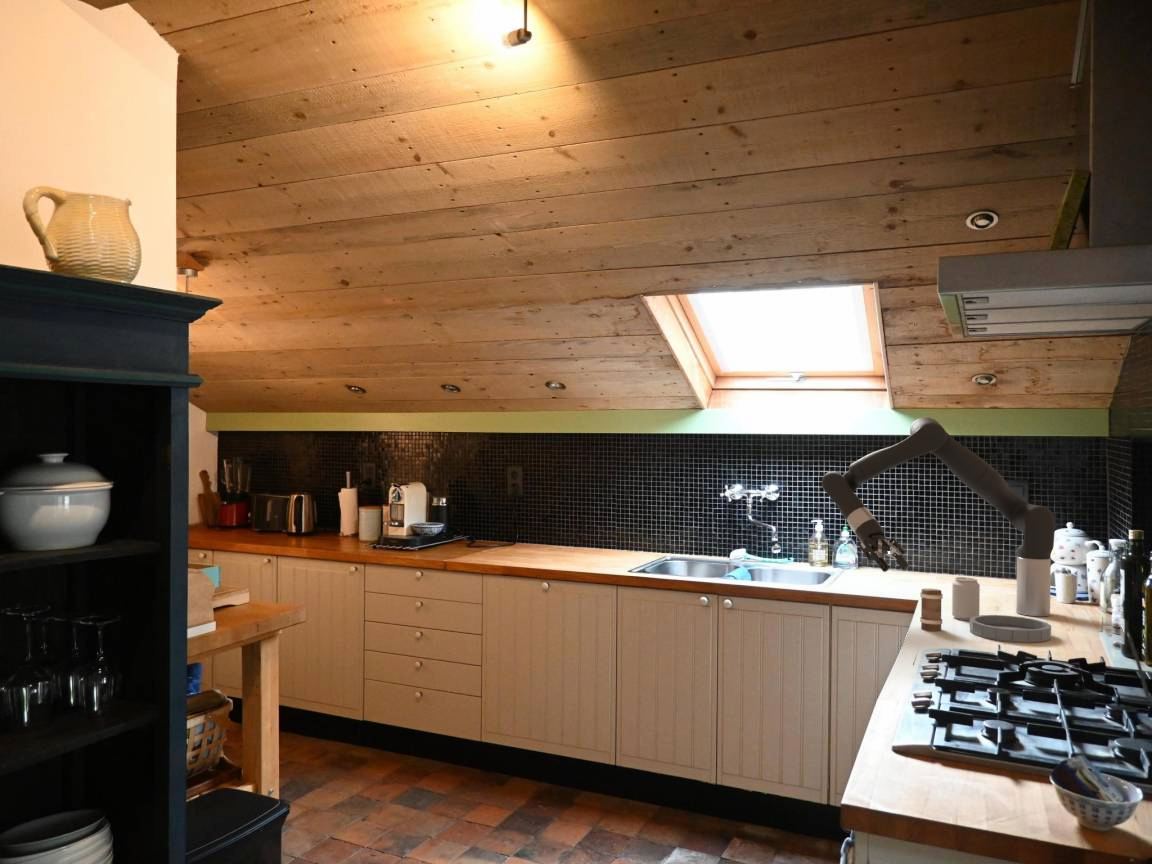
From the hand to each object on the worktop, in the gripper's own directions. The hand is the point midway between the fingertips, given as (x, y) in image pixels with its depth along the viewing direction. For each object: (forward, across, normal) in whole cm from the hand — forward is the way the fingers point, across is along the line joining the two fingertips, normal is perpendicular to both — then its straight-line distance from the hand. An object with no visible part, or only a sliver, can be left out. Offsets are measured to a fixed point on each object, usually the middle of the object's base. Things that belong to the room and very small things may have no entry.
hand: (896, 569), depth 263 cm
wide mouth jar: (+16, +22, +6) cm, 28 cm away
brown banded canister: (+19, 0, +3) cm, 19 cm away
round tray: (+30, +13, -8) cm, 34 cm away
